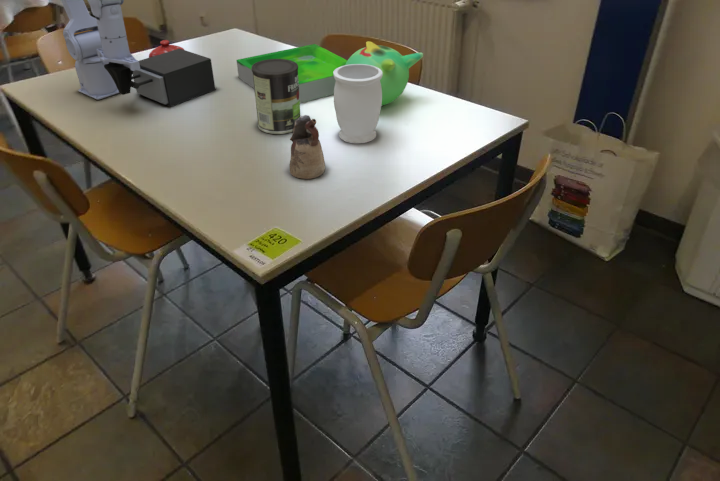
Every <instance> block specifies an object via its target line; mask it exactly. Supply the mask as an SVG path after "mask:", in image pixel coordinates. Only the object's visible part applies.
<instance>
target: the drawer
mask: <svg viewBox="0 0 720 481" xmlns="http://www.w3.org/2000/svg"><path fill="white" fill-rule="evenodd" d="M129 86H130V87H131V88H133V89H135V91H136V94H139V95H140V96H143V97H144V98H145V97H146V98H148V99H150V100H153V101H155V102H158V103H160V104H162V105H165V104H167V103H168V98H167V93H166V88H165V84H164V79H163V77H162V76H159V75H156V74H155V73H153V72H150V71H148V70H145V69H142V68H141V69H139V70H135V71H133V74H132V78H131V82H130V83H129Z"/></svg>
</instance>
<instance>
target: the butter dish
mask: <svg viewBox="0 0 720 481" xmlns="http://www.w3.org/2000/svg"><path fill="white" fill-rule="evenodd" d="M159 44H160V45H158V46H157V47H155V48H153V49H152V50H151V51H150V52H149V54H148V58H150V57H153V56H156V55H160V54H163V53H166V52H169V51H173V50H176V49H179V48H180V49H183V50H185V48H184V47H181V46H179V45H175V44H170V40H168V39H163V40H161V41H160V42H159Z"/></svg>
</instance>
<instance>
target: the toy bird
mask: <svg viewBox="0 0 720 481" xmlns="http://www.w3.org/2000/svg"><path fill="white" fill-rule="evenodd" d="M423 57H424V53H423V52H414V53H409V54H406V55H402V54H401V53H400V52H399V51H398V50H396V49H394V48H392V47H390V46H386V45H379V44H378V45H377V44H376V43H375V42H373V41H371V40H367V41H366V42H365V47H362V48H360V49H358V50H356V51H355V52H354V53H353V54H351V55H350V56H349V57H348V59H347V62H346V64H345V65H350V64H366V65H372V66H375V67H378V68H379V69H381V70H382V74H383V76H382V78H381V80H380V82H381V88H382V105H381V107H382V106H386V105H388V104H391V103H392V102H394V101H395V100H396V99H398V98H399V97H400V96H401V95H402V94H403V92H404V91H405V89H406V88H407V85H408V82H409V79H410V69H411V67H413V66H414V65H416V63H418V62H419V61H420V60H422V58H423Z"/></svg>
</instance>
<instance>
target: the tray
mask: <svg viewBox="0 0 720 481" xmlns="http://www.w3.org/2000/svg"><path fill="white" fill-rule="evenodd" d="M268 59H286V60H291V61H294V62H296V63H297V64H298V81H299V99H300V104H301V103H306V102H310V101H314V100H317V99H321V98H325V97H329V96H334V87H335V82H336V80H335V78H334V76H333V72H334V70H335V69H336V68H338V67H341V66H344V65H345V64H346V62H347V61H348V59H345V58H343V57H342V56H340V55H337V54H336V53H334V52H332V51H330V50H328V49H326V48H324V47H322V46H320V45H318V44H316V43H312V44H308V45H302V46H298V47H293V48H288V49H283V50H278V51H274V52H269V53H263V54H258V55H254V56H249V57H248V56H247V57H244V58H239V59H236V67H237V74H238V75H237V76H238V78H239V79H240V80H242V81H243V82H244V83H245V84H247V85H249V86H250V88H252V89H254V82H253V72H252V69H251V67H252V65H253V64H255V63H257V62H259V61H262V60H268Z"/></svg>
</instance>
